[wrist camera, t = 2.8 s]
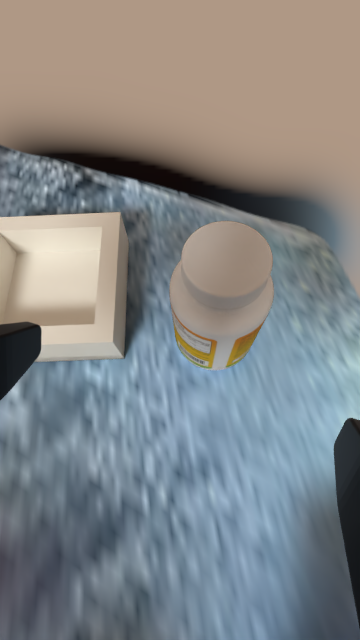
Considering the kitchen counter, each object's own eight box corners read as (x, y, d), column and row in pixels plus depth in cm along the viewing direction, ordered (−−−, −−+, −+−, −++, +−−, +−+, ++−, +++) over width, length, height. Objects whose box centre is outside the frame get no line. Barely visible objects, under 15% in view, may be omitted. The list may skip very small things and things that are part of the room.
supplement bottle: (245, 298, 24) (278, 203, 15) (256, 369, 22) (302, 307, 13) (173, 303, 24) (162, 211, 15) (177, 374, 22) (167, 317, 13)
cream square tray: (124, 358, 22) (112, 342, 19) (-16, 363, 22) (-50, 348, 19) (128, 242, 26) (120, 212, 23) (9, 247, 26) (-16, 218, 23)
